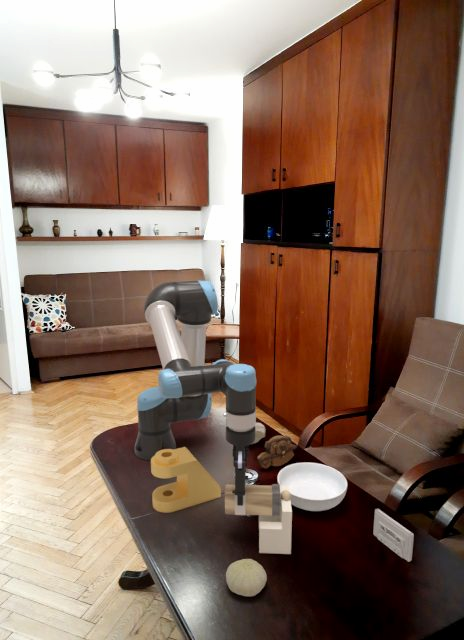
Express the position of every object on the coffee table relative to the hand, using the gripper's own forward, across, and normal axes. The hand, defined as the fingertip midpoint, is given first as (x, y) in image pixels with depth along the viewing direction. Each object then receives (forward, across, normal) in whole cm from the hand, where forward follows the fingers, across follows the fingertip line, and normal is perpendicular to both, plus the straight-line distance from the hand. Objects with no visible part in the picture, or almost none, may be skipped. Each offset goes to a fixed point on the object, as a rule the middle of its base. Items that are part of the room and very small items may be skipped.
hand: (240, 508), depth 118 cm
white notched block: (+9, 0, +9) cm, 12 cm away
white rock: (+9, -52, +3) cm, 53 cm away
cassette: (+9, +2, +39) cm, 40 cm away
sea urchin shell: (+9, +17, -1) cm, 19 cm away
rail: (0, 0, +3) cm, 3 cm away
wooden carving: (+9, -38, +12) cm, 41 cm away
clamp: (+9, -17, -18) cm, 26 cm away
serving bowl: (+9, -18, +21) cm, 29 cm away
